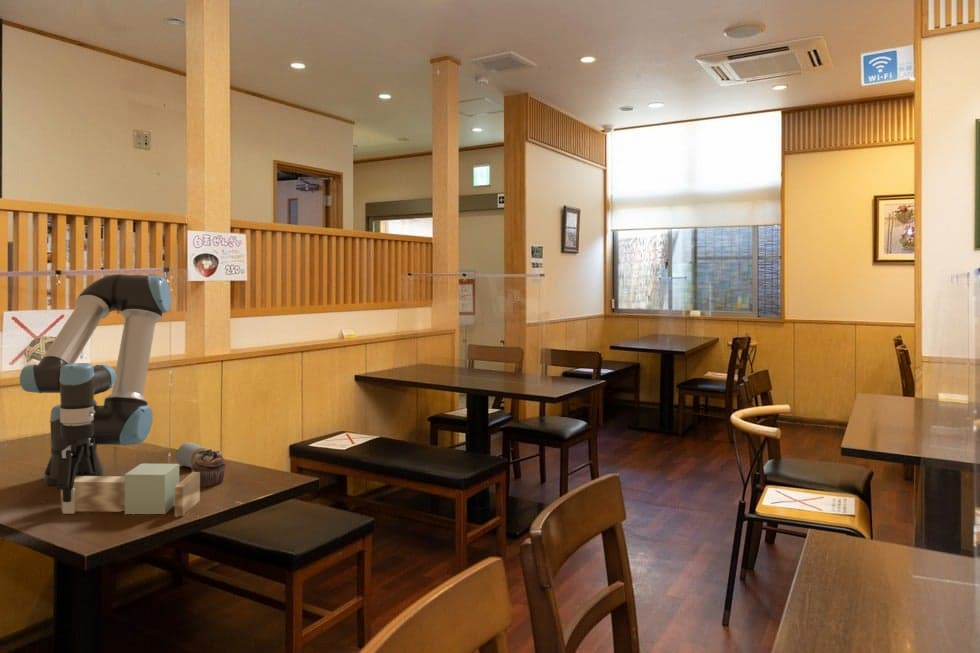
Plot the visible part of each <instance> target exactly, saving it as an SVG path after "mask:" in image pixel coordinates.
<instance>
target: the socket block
mask: <svg viewBox="0 0 980 653" xmlns="http://www.w3.org/2000/svg"><path fill="white" fill-rule="evenodd" d="M124 476H125V512H124V515H125V516H127V515H126V514H133V516H135V515H134V514H165V513H167V512H168V511H169V510H170V509H171V508H172V507H173V506H174V507H175V486H177V485H178V484H179V483H180V464H179V463H146V462H145V463H144V462H143V463H140V464H138V465H137V466H135V467H134V468H132V469H131V470H129V471H128V472H126V473H125V474H124ZM174 507H173V508H174ZM173 508H172V509H173ZM172 509H171V510H172ZM171 510H170V511H171ZM170 511H169V512H170ZM169 512H168V513H169ZM168 513H167V514H168ZM165 515H166V514H165Z"/></svg>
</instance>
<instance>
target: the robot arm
mask: <svg viewBox="0 0 980 653" xmlns="http://www.w3.org/2000/svg"><path fill="white" fill-rule="evenodd" d="M74 306H75V308H74V310H73V312H72V313H71V314H70V316H69V317H68V318H67V320H66V322H65V323H64V325H63V326H62V328H61V329H60V331H59V332H58V334H57V335H56V337H55V339H54V340H53V342H52V343H51V345H49V346H50V347H49V348H48V349H47V351H46V352H45V353H44V355H43V356H42V358H41V360H40V361H39V363H38V364H29V365H26V366H24V367H23V368H22V370H21V371H20V374H19V385H20V387H21V389H22V390H23V391H25V392H26V393H34V394H35V393H36V394H37V393H38V394H59V396H60V398H59V399H60V400H59V401H60V404H57V405H54V406H53V407H52V408H51V410H50V418H49V423H50V457H49V460H48V463H47V465H46V469H45V471H44V474H43V477H44V478H43V482H44V483H45V484H47V485H49V486H56V489H57V490H61V489H62V490H63V511H62V514H66V515H67V514H75V513H76V511H75V488H73V485H74V480H75V476H104V467H103V464H102V461H101V459H100V456H99V453H98V450H97V449H98V448H97V445H98V446H101V445H104V446H105V445H106V446H107V445H109V446H112V445H113V446H114V445H116V446H133V445H139V444H141V443H143V442H144V441H145V439H146V438H147V437H148V435H149V434H150V432H151V429H152V425H153V421H154V420H153V419H154V417H153V414H154V413H153V409H152V408H151V407H150V406H148V403H149V402H148V400H147V398H145V397H144V394H145V387H146V382H147V375H148V369H149V365H150V364H149V363H150V357H151V351H152V346H153V340H154V332H155V327H156V324H157V323H158V322H160V321H161V320H162V319H163V318H162V317H163V314H165V313H169V311H171V310H170V309H171V306H172V293H171V288H170V285H169V284H168V282H167V280H166V279H165V278H164V277H162V276H157V275H149V274H148V275H142V274H141V275H138V274H109V275H106V276H103V277H101V278H99V279H97V280H96V281H93V282H92V283H91V284H90V285H88V286H87V287H86V288H85V289H84V290H82V291H81V292H80V294H79V295H78V296H77V298H76V300H75V305H74ZM118 311H119V312H120V315H121V316H122V318H123V319H124V323H123V330H122V334H121V340H120V345H119V352H118V356H117V361H116V362H117V363H116V368H115V369H114V368H113V367H112V366H110V365H107V364H95V365H94V366H93V365H92V364H91V363H89V362H87V363H86V362H77V363H76V361H77V359H78V358H79V356H81V353H82V351H83V350H84V349H85V346H86V345H87V343H88V342H89V340H90V339H91V336H92V335H93V333H94V332H95V330H96V328H97V327H98V325H99V324H100V322H101V320H103V319H105V318H107V317H108V316H109V314H110V313H111V312H118ZM111 389H112V390H111ZM109 390H111V393H110V394H108V396H106V397H105V398H104V400H103V401H104V402H103V405H98V402H97V401H96V399H95V396H96V395H98V394H102V393H106V392H107V391H109Z"/></svg>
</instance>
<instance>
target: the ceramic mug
mask: <svg viewBox="0 0 980 653" xmlns="http://www.w3.org/2000/svg"><path fill="white" fill-rule="evenodd" d="M207 450H208V449H207V448H206V447H204V446H202V445H199V444H197V443H194V442H192V441H191V442H190V441H188V442H187V441H186V442H184V443H183V444H181V445H180V446H179V447H178V449H177V451H176V455H175V456H176V462H177V464H179V466H182V467H183V466H184V467H187V468H192V467H193V465H194V464H195V460H196V459H197V458H196V455H197V454H198V453H199V452H201V451H207ZM204 453H205V454H206V452H204Z"/></svg>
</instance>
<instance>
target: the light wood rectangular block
mask: <svg viewBox="0 0 980 653" xmlns="http://www.w3.org/2000/svg"><path fill="white" fill-rule="evenodd" d="M73 488H75V512H112V513H113V512H116V513H117V512H119V513H121V511H125V475H124V476H123V475H122V476H119V475H117V476H111V475H110V476H108V475H107V476H105V475H103V476H75V480H74V485H73ZM60 512H63V490H62V489H60Z"/></svg>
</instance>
